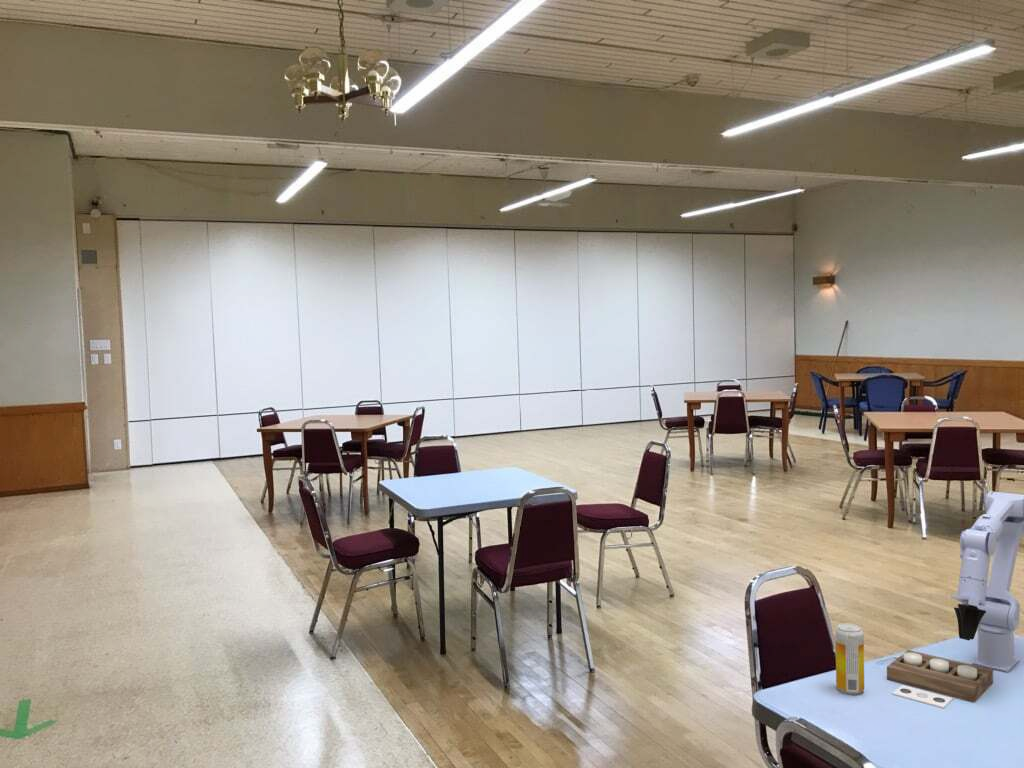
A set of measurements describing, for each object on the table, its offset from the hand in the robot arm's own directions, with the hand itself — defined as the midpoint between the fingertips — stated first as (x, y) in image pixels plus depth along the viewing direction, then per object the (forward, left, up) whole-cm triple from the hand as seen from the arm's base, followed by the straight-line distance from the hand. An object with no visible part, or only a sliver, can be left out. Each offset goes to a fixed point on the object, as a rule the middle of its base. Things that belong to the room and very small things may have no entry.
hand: (966, 639), depth 186 cm
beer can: (+18, -20, -12) cm, 29 cm away
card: (+11, -6, -12) cm, 17 cm away
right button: (-1, 0, -10) cm, 10 cm away
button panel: (-1, -6, -12) cm, 13 cm away
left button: (-1, -12, -10) cm, 16 cm away
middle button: (-1, -6, -10) cm, 12 cm away
